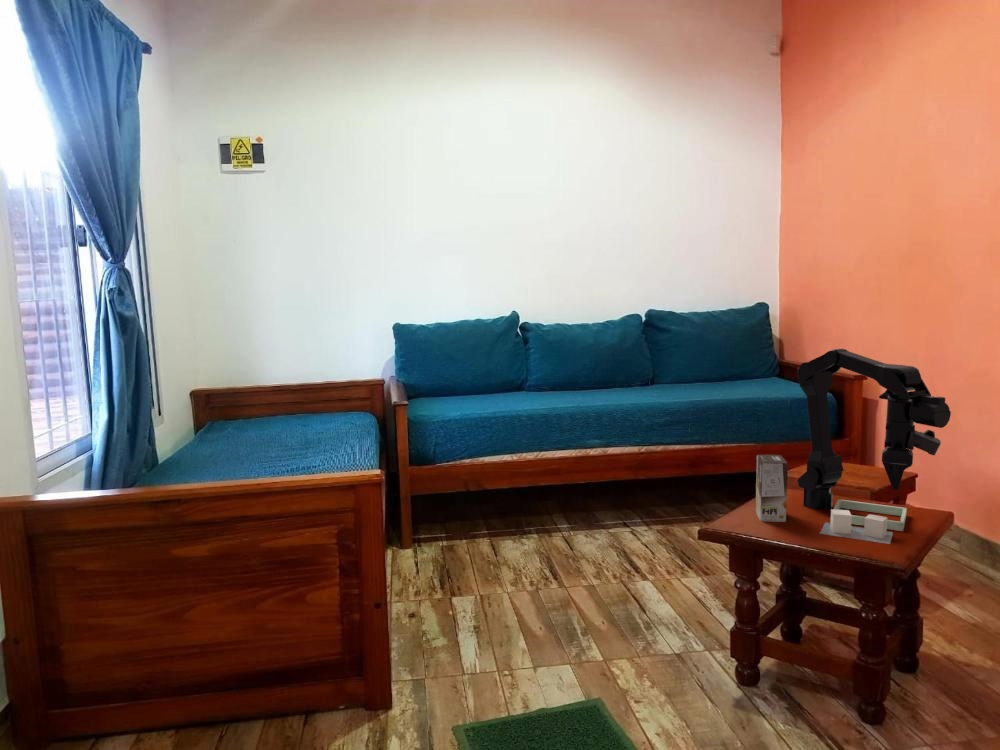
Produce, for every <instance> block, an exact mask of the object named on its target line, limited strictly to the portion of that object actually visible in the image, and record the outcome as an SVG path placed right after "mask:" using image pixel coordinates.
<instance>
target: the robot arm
mask: <svg viewBox="0 0 1000 750" xmlns="http://www.w3.org/2000/svg"><path fill="white" fill-rule="evenodd" d="M841 369H845V370H848V371H849V372H852V373H856V374H859V375H861V376H864V377H866V378H870V379H873V380H874V381H876V382H877V384H878V385H879V386H880V387H882V388H884V389H885V391H884V392H883V393H881V394H880V395H879V396H878V398H879V400H880V399H881V400H887V403H886V405H887V406H886V420H885V433H884V434H885V437H884V445H883V448H884V449H882V453H881V462H882V466H883V468H884V471H885V473H886V475H887V478H888V480H889V483H890V486H891V489H892V490H893V491H898V490H899V489H900V485H901V483H902V482H901V481H902V478H903V475H904V471H906V470H907V469H908V468H911V467H912V466H913V465H914V464H913V460H914V453H913V451H914V448H917V449H918V450H921V451H923V452H925V453H928V455H931V456H936V454H937V452H938V450H939V448H940V446H941V444H942V441H941V440H940V439H939V438H938V437H936V434H935V431H934V430H930V429H926V430H925V431H924V432H923V431H918V430H916V425H915V424H918V425H923V426H928V427H932V428H933V427H934V428H938V429H939V428H940V429H942V428H945V427H946V426H947V425H948V423H949V422H950V419H951V413H952V411H951V410H950V407H949V405H948V404H947V403H946V397H944V396H932V394H931V392H930V390H929V389H928V387H927V385H926V384H925V382H924V380H923V377H922V374H921V373H920V370H919V369H918V368H917V367H915V366H911V365H904V364H894V363H890V364H889V363H886V362H885V363H884V362H882V361H879V360H875V359H872V358H870V357H868V356H863V355H861V354H857V353H855V352H852V351H849V350H847V349H845V348H836V349H834V348H832V349H829V350H828V351H826V352H825V353H823V354H822V355H820V356H818V357H815V358H813V359H811V360H810V361H809V360H808V361H806V362H802V363H801V364H800V365H799V366H798V367H797V370H796V371H797V372H796V375H797V380H798V383H799V387H800V388H801V390H802V391H803V394H805V396H806V402H807V412H808V413H807V415H808V423H809V433H810V444H811V452H810V453H809V456H808V458H807V460H806V471H805V472H804V473H802V475H800V477H798V478H797V484H798V487H799V488H801V489H803V495H802V496H803V498H802V499H803V500H802V501H803V502H802V506H803V507H807V508H809V509H812V510H831V509H832V508H833V500H834V499H833V498H834V497H833V496H834V493H833V492H831V490H832V489H831V488H835V487H837V484H838V481H839V480H840V479H841V478H842V475H843V472H844V471H845V470H844V467H843V456H842V455H837V454H836V453H835V451H834V450H833V449H834V448H833V445H832V435H831V421H830V411H829V402H828V400H829V399H828V395H829V394H828V393H829V391H830V389H831V387H832V384H833V375H835V374H836V373H837V372H839V371H841Z"/></svg>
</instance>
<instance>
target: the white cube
mask: <svg viewBox="0 0 1000 750" xmlns="http://www.w3.org/2000/svg"><path fill="white" fill-rule="evenodd" d="M852 515H853V514H851V511H850V509H840V510H835V509H834V508H833V509H832V508H831V509H830V522H829V523H830V528H831V530H832V532H833V533H847V534H851V526H852V524H851V519H852Z"/></svg>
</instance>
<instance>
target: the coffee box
mask: <svg viewBox="0 0 1000 750" xmlns="http://www.w3.org/2000/svg"><path fill="white" fill-rule="evenodd" d="M788 468H789V463H788V462H787V460H786V459H785V458H784V457H783V456H782V455H781V454H757V455H756V470H755V471H756V473H755V474H756V475H755V477H756V479H755V481H756V482H755V512H756V513H755V514H756V516H757V517H758V519H759V521H760V522H773V523H775V522H776V523H777V522H779V523H780V522H781V523H786V522H787V500H788Z"/></svg>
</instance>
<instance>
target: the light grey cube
mask: <svg viewBox="0 0 1000 750" xmlns="http://www.w3.org/2000/svg"><path fill="white" fill-rule="evenodd" d="M864 517H865V522H864V527H863V528H864V535H866V536H871V537H876V538H881V539H882V538H883V537H885V536H886V534H887V531H888V529H887V520H888V517H887V516H882V515H877V514H876V515H875V514H867V516H864Z"/></svg>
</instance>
